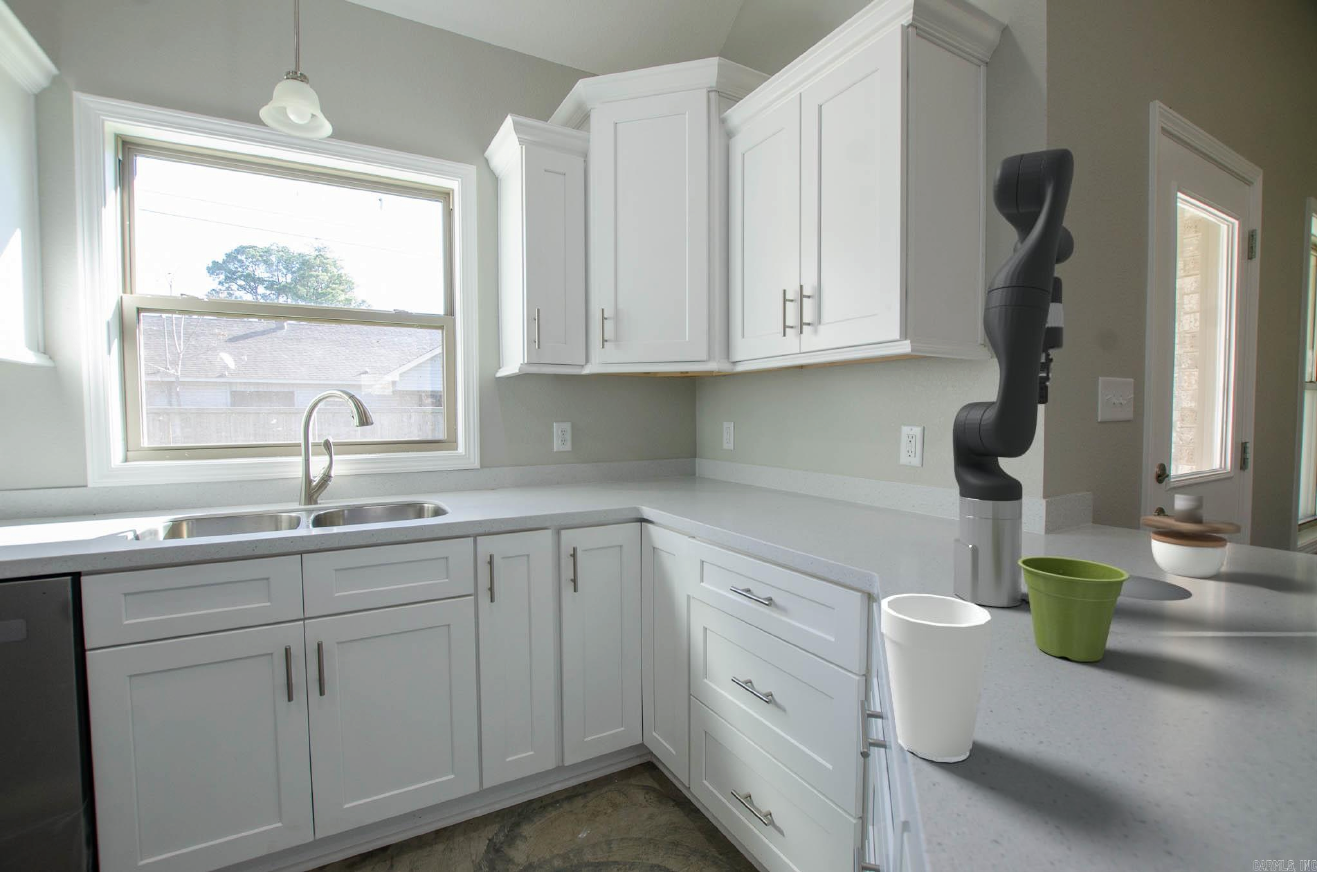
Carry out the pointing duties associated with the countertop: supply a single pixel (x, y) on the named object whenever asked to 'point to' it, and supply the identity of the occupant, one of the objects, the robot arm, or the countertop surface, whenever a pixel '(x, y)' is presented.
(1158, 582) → the rubber mat
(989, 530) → the robot arm
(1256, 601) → the countertop surface
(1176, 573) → the lidded jar
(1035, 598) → the plant pot
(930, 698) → the foam cup
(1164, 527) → the walnut lid
